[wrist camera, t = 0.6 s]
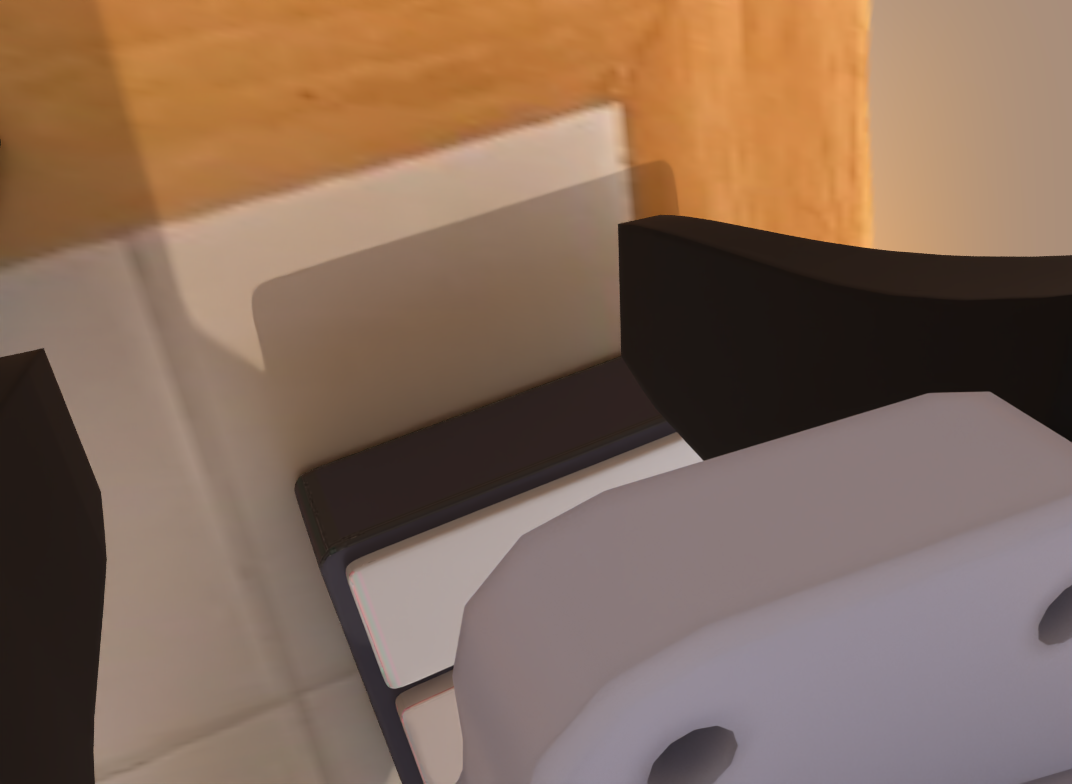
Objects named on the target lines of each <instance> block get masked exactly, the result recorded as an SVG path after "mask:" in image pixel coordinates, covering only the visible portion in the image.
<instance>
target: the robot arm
mask: <svg viewBox="0 0 1072 784" xmlns="http://www.w3.org/2000/svg"><path fill="white" fill-rule="evenodd" d="M618 241H619V281H620V321H621V357H622V358H623V360H624V362H625V363H626V365H627V366H628V368H629V370H630V371H631V373H632V374H633V376H634V378H635V379H636V381H637V382H638V384H639V386H640V387H641V388H642V390H643V391H644V393H645V394H646V396H647V397H648V399H649V400H650V402H651V403H652V404H653V406H654V407H655V408H656V409H657V411H658V412H659V413H660V414H661V415H662V416H663V417H664V419H665V420H666V421H667V422H668V423H669V424H670V425H671V426H672V427H673V428H674V430H675V431H676V432H677V433H678V434H679V435H680V436H681V437H682V438H683V439H684V441H685V442H686V443H687V444H688V445H689V446H690V447H691V448H692V449H693V450H694V451H695V452H696V453H697V454H698V456H699V457H700V458H701V459H702V460H703V461H702V462H698V463H695V464H692V465H688V466H685V467H682V468H679V469H675V470H672V471H669V472H665V473H662V474H659V475H655V476H652V477H649V478H645V479H642V480H639V481H635V482H632V483H629V484H625V485H622V486H619V487H615V488H612V489H609V490H606V491H603V492H601V493H600V494H598V495H596V496H594V497H592V498H590V499H588V500H587V501H585V502H583V503H581V504H579V505H577V506H575V507H574V508H572V509H570V510H568V511H566V512H564V513H562V514H561V515H559V516H557V517H555V518H553V519H551V520H550V521H548V522H546V523H544V524H542V525H540V526H538V527H537V528H535V529H533V530H531V531H529V532H527V533H525V534H524V535H522V536H521V537H520V538H519V539H518V540H517V542H516V543H515V544H514V545H513V547H512V548H511V549H510V550H509V552H508V553H507V554H506V555H505V557H504V558H503V559H502V560H501V561H500V563H499V564H498V565H497V566H496V568H495V569H494V570H493V571H492V573H491V574H490V575H489V576H488V577H487V579H486V580H485V581H484V582H483V584H482V585H481V586H480V587H479V589H478V590H477V591H476V592H475V593H474V595H473V596H472V597H471V598H470V600H469V601H468V602H467V603H466V605H465V606H464V612H463V618H462V623H461V629H460V634H459V640H458V646H457V651H456V657H455V663H454V668H453V674H452V678H453V684H454V690H455V696H456V701H457V707H458V713H459V719H460V725H461V731H462V737H463V770H462V772H461V775H460V777H459V779H458V781H457V782H456V783H455V784H1072V255H1070V256H1042V257H1041V256H1040V257H985V256H983V257H981V256H980V257H977V256H975V257H974V256H951V255H935V254H922V253H910V252H897V251H886V250H878V249H870V248H862V247H856V246H849V245H843V244H836V243H829V242H823V241H817V240H811V239H806V238H800V237H795V236H789V235H784V234H779V233H774V232H769V231H764V230H758V229H753V228H748V227H743V226H738V225H733V224H728V223H723V222H717V221H712V220H706V219H700V218H693V217H685V216H675V215H658V216H653V217H648V218H644V219H639V220H635V221H630V222H625V223H621V224H618ZM106 562H107V557H106V544H105V530H104V520H103V510H102V499H101V491H100V489H99V486H98V484H97V481H96V479H95V476H94V474H93V471H92V469H91V466H90V464H89V461H88V459H87V456H86V454H85V451H84V449H83V446H82V444H81V441H80V439H79V436H78V434H77V431H76V429H75V426H74V424H73V421H72V419H71V416H70V414H69V411H68V409H67V406H66V404H65V401H64V399H63V396H62V394H61V391H60V389H59V386H58V383H57V381H56V378H55V376H54V373H53V371H52V368H51V366H50V363H49V361H48V358H47V356H46V353H45V351H44V348H43V349H38V350H33V351H29V352H24V353H20V354H15V355H10V356H6V357H1V358H0V784H95V778H94V756H93V747H94V714H95V702H96V690H97V678H98V666H99V654H100V642H101V630H102V618H103V605H104V591H105V578H106Z"/></svg>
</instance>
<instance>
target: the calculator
mask: <svg viewBox="0 0 1072 784" xmlns="http://www.w3.org/2000/svg"><path fill="white" fill-rule="evenodd" d="M702 461H703V460H702V459H701V458H700V457H699V456H698V454H697V453H696V452H695V451H694V450H693V449H692V448H691V447H690V446H689V445H688V444H687V443H686V442H685V441H684V439H683V438H682V437H681V436H680V435H679V434H678V433H677V432H676V431H675V430H674V428H673V427H672V426H671V425H670V424H669V423H668V422H667V421H666V420H665V419H664V417H663V416H662V415H661V414H660V413H659V412H658V411H657V409H656V408H655V407H654V406H653V404H652V403H651V402H650V400H649V399H648V397H647V396H646V394H645V393H644V391H643V390H642V388H641V387H640V386H639V384H638V382H637V381H636V379H635V378H634V376H633V374H632V373H631V371H630V370H629V368H628V366H627V365H626V363H625V362H624V360H623V358H622V357H618V358H616V359H613V360H610V361H608V362H605V363H602V364H599V365H597V366H594V367H591V368H588V369H586V370H583V371H580V372H577V373H575V374H572V375H569V376H567V377H564V378H561V379H558V380H556V381H553V382H550V383H547V384H545V385H542V386H539V387H536V388H534V389H531V390H528V391H526V392H523V393H520V394H517V395H515V396H512V397H509V398H506V399H504V400H501V401H498V402H495V403H493V404H490V405H487V406H485V407H482V408H479V409H476V410H474V411H471V412H468V413H465V414H463V415H460V416H457V417H454V418H452V419H449V420H446V421H444V422H441V423H438V424H435V425H433V426H430V427H427V428H424V429H422V430H419V431H416V432H413V433H411V434H408V435H405V436H403V437H400V438H397V439H394V440H392V441H389V442H386V443H383V444H381V445H378V446H375V447H372V448H370V449H367V450H364V451H362V452H359V453H356V454H353V455H351V456H348V457H345V458H342V459H340V460H337V461H334V462H331V463H329V464H326V465H323V466H321V467H318V468H315V469H313V470H310V471H308V472H306V473H304V474H303V475H301V476H300V477H299V478H298V480H297V482H296V484H295V494H296V498H297V501H298V504H299V508H300V511H301V514H302V517H303V520H304V523H305V526H306V529H307V532H308V535H309V538H310V541H311V544H312V547H313V550H314V553H315V556H316V559H317V562H318V565H319V568H320V571H321V574H322V576H323V579H324V582H325V584H326V587H327V589H328V592H329V595H330V597H331V600H332V602H333V605H334V608H335V610H336V613H337V615H338V618H339V621H340V623H341V626H342V628H343V631H344V634H345V636H346V639H347V641H348V644H349V647H350V649H351V652H352V654H353V657H354V660H355V662H356V665H357V668H358V670H359V673H360V675H361V678H362V681H363V683H364V686H365V688H366V691H367V694H368V696H369V699H370V701H371V704H372V707H373V709H374V712H375V714H376V717H377V720H378V722H379V725H380V727H381V730H382V733H383V735H384V738H385V740H386V743H387V745H388V748H389V751H390V753H391V756H392V758H393V761H394V764H395V766H396V769H397V771H398V774H399V777H400V779H401V782H402V784H455V783H456V782H457V781H458V779H459V777H460V775H461V772H462V770H463V737H462V731H461V725H460V719H459V713H458V707H457V701H456V696H455V690H454V684H453V678H452V674H453V668H454V663H455V657H456V651H457V646H458V640H459V634H460V629H461V623H462V618H463V612H464V606H465V605H466V603H467V602H468V601H469V600H470V598H471V597H472V596H473V595H474V593H475V592H476V591H477V590H478V589H479V587H480V586H481V585H482V584H483V582H484V581H485V580H486V579H487V577H488V576H489V575H490V574H491V573H492V571H493V570H494V569H495V568H496V566H497V565H498V564H499V563H500V561H501V560H502V559H503V558H504V557H505V555H506V554H507V553H508V552H509V550H510V549H511V548H512V547H513V545H514V544H515V543H516V542H517V540H518V539H519V538H520V537H521V536H522V535H524V534H525V533H527V532H529V531H531V530H533V529H535V528H537V527H538V526H540V525H542V524H544V523H546V522H548V521H550V520H551V519H553V518H555V517H557V516H559V515H561V514H562V513H564V512H566V511H568V510H570V509H572V508H574V507H575V506H577V505H579V504H581V503H583V502H585V501H587V500H588V499H590V498H592V497H594V496H596V495H598V494H600V493H601V492H603V491H606V490H609V489H612V488H615V487H619V486H622V485H625V484H629V483H632V482H635V481H639V480H642V479H645V478H649V477H652V476H655V475H659V474H662V473H665V472H669V471H672V470H675V469H679V468H682V467H685V466H688V465H692V464H695V463H698V462H702Z"/></svg>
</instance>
